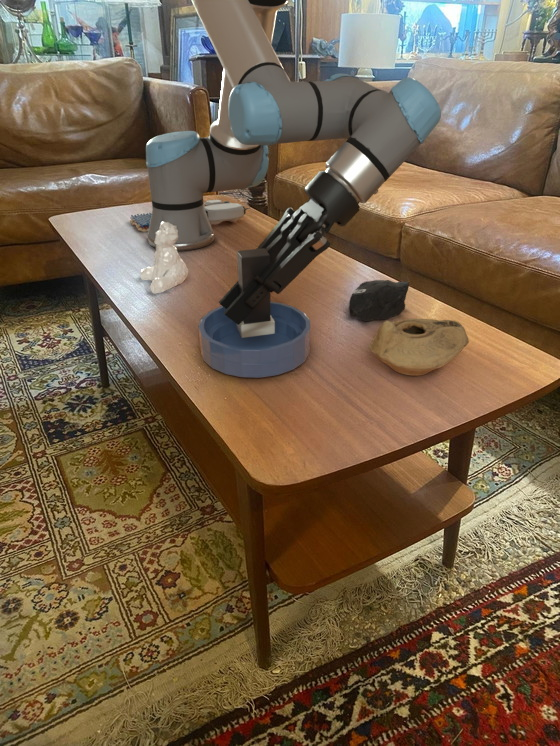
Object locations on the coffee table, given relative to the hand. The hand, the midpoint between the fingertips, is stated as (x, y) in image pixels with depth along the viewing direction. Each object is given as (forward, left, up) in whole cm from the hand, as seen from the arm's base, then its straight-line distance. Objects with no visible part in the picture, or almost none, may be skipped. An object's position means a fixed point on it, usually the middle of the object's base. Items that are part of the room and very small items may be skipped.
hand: (228, 313), depth 79 cm
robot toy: (-72, +12, -7) cm, 73 cm away
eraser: (0, +4, -3) cm, 5 cm away
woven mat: (-72, -5, -7) cm, 73 cm away
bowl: (0, +4, -7) cm, 8 cm away
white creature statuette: (-32, -6, -7) cm, 33 cm away
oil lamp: (+10, +26, -7) cm, 29 cm away
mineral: (-8, +27, -7) cm, 29 cm away
